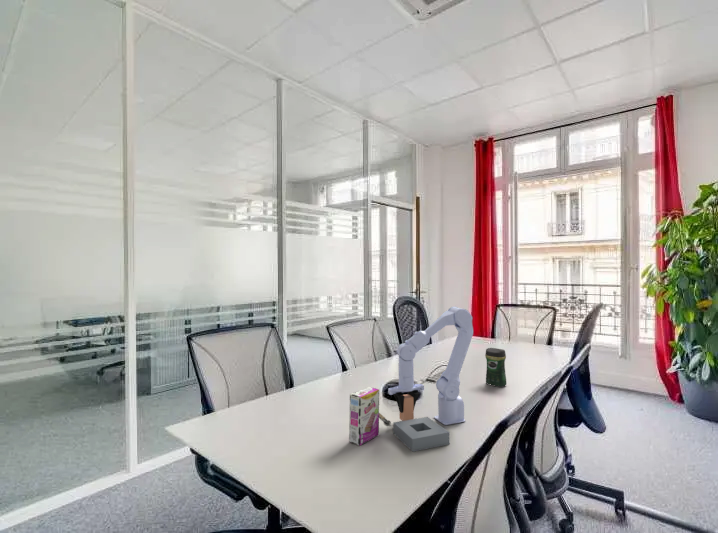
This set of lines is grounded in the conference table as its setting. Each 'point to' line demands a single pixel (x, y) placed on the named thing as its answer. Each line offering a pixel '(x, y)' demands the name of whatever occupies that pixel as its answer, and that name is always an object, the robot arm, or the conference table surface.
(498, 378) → the coffee jar
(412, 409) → the peg
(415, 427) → the socket block
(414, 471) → the conference table surface
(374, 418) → the candy bar box
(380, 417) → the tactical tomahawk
